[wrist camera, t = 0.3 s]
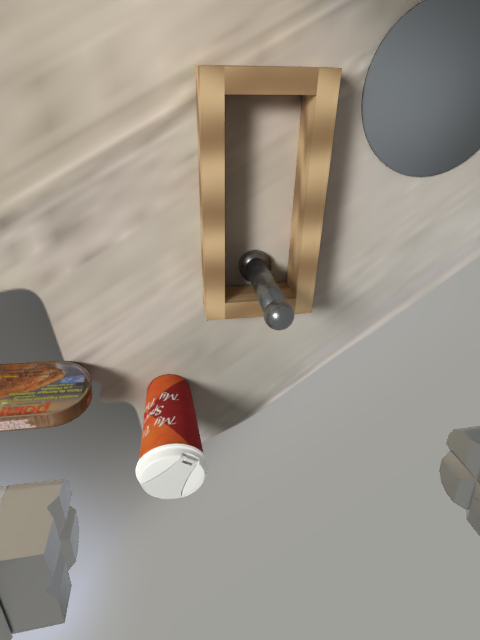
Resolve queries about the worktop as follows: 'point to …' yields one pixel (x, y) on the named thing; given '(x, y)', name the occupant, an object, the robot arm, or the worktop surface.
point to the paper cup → (170, 441)
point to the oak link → (309, 183)
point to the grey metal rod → (266, 289)
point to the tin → (42, 394)
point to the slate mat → (426, 89)
